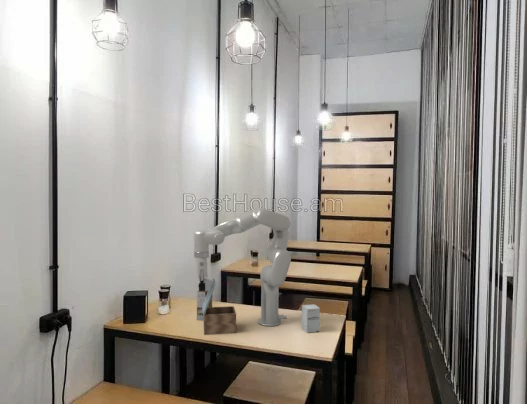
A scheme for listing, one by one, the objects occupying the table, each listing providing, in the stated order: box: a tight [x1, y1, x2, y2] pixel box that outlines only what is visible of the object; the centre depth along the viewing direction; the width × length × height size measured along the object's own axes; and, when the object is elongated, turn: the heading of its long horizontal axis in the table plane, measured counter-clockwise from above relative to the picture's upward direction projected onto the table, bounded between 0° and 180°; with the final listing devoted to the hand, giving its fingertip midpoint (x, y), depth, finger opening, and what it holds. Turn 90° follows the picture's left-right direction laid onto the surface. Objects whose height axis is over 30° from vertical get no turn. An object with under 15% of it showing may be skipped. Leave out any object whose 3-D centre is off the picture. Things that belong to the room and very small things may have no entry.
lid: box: [197, 277, 217, 315], centre depth 189 cm, size 16×12×8 cm
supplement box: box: [301, 303, 321, 334], centre depth 192 cm, size 7×7×13 cm
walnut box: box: [203, 305, 237, 336], centre depth 191 cm, size 16×12×10 cm
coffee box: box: [196, 289, 213, 322], centre depth 208 cm, size 9×6×16 cm
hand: (201, 289), depth 189 cm, fingers closed
